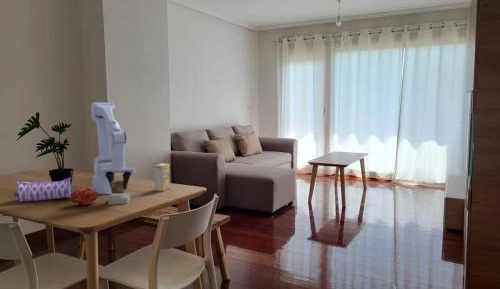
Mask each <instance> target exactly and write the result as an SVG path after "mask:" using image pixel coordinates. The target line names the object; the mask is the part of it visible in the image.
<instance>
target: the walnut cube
mask: <svg viewBox="0 0 500 289" xmlns="http://www.w3.org/2000/svg"><path fill="white" fill-rule="evenodd" d="M127 188H128V187H127ZM127 188H126V189H124V180H123V179H114V181H112V182H111V193H113V194H125V193H126V192H127Z"/></svg>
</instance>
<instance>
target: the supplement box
mask: <svg viewBox="0 0 500 289" xmlns="http://www.w3.org/2000/svg"><path fill="white" fill-rule="evenodd" d="M170 184H171V183H170V163H159V164H157V165H156V164H155V165H154V191H155V192H165V191H166V190H168V189H170V188H171V187H170Z"/></svg>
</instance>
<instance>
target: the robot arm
mask: <svg viewBox="0 0 500 289" xmlns="http://www.w3.org/2000/svg"><path fill="white" fill-rule="evenodd" d="M90 110H91V111H90V112H91V119H92V121H94V122H95V124H96V128H97V130H96V132H97V140H98V142H97V143H98V152H99V153H98V154H99V155H98V156H96V157H95V158H94V160H93V171H94V175H93V176H92V179H91V180H92V181H91V182H92V190H94V191H96V192H97V193H98V194H99V195H111V194H114V193H111V182H112V181H114V180H115V174H117V173H119V174H121V173H122V178H123V179H122V180H124V189H126V188H128V183H129V180H130V178H131V176H132V174H135V173H136V167H126V150H125V148H126V146H125V145H126V143H127V133H126V131H125V130H123V129H121V126H120V124H119V122H118V121H117V120H115V117H114V114H115V113H116V106H115V103H114V102H111V101H110V102H94V101H93V102H92V103H91V106H90Z"/></svg>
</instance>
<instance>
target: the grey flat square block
mask: <svg viewBox="0 0 500 289" xmlns="http://www.w3.org/2000/svg"><path fill="white" fill-rule="evenodd" d="M130 198H131V195H130V193H113V194H109V196H108V198H107V199H108V200H107V201H108V202H107V204H108V205H127V204H129V201H131V200H130Z"/></svg>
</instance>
